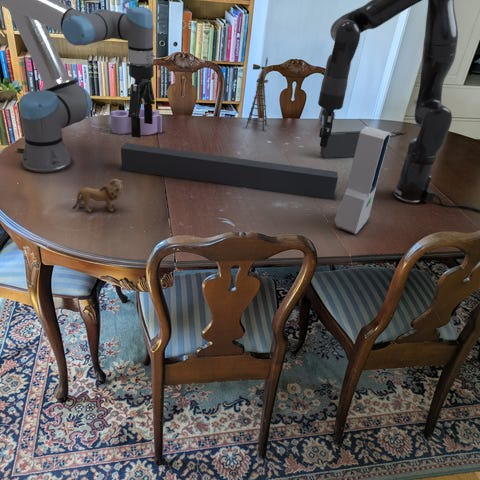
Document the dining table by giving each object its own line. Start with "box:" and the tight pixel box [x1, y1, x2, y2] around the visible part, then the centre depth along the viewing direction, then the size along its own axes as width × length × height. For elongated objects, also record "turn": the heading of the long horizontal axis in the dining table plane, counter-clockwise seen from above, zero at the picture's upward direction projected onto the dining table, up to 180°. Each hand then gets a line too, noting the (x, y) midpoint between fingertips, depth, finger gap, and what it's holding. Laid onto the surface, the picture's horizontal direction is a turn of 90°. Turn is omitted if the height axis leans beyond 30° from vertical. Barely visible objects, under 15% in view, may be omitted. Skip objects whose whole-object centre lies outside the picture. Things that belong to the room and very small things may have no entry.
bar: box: [120, 142, 339, 200], centre depth 159 cm, size 73×5×8 cm, turn 83°
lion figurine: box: [71, 178, 124, 213], centre depth 135 cm, size 15×5×9 cm, turn 110°
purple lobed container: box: [109, 107, 163, 136], centre depth 192 cm, size 20×12×7 cm, turn 109°
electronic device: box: [334, 125, 392, 235], centre depth 136 cm, size 12×8×30 cm, turn 148°
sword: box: [390, 131, 407, 137], centre depth 214 cm, size 31×3×1 cm, turn 126°
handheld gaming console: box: [319, 130, 362, 159], centre depth 188 cm, size 23×3×10 cm, turn 108°
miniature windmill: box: [245, 57, 269, 131], centre depth 203 cm, size 9×8×30 cm
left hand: (142, 130), depth 155 cm, fingers open, 13 cm apart
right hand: (322, 141), depth 150 cm, fingers open, 8 cm apart
